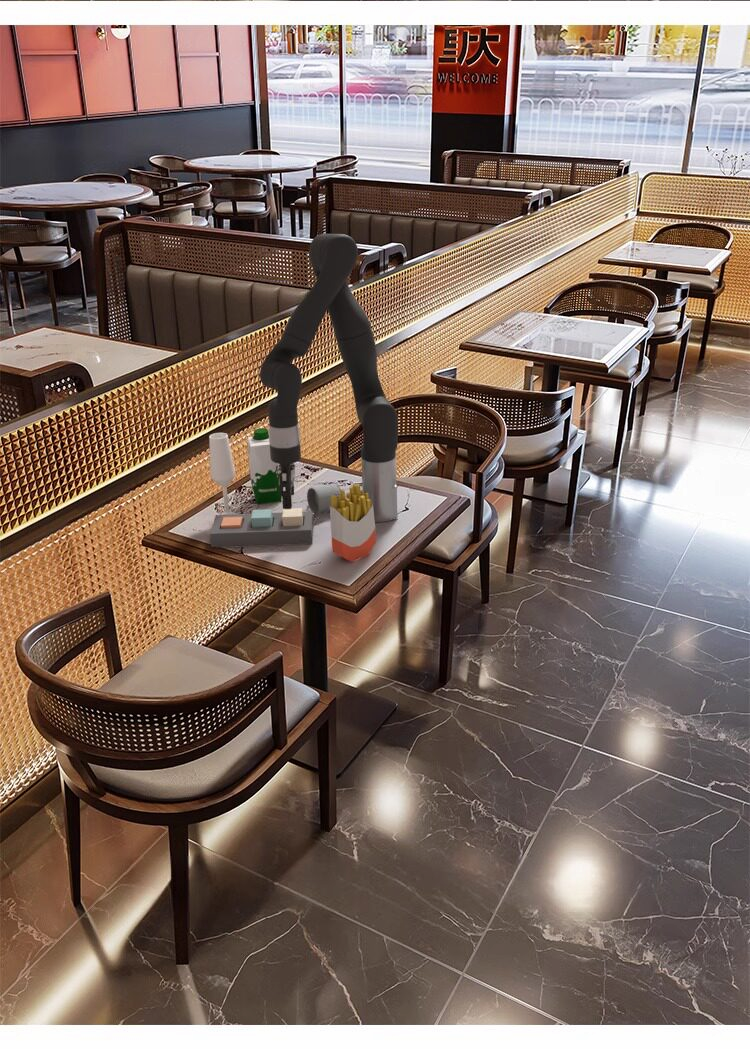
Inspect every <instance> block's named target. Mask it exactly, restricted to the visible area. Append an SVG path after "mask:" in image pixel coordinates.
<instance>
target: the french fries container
mask: <svg viewBox="0 0 750 1049" xmlns="http://www.w3.org/2000/svg"><path fill="white" fill-rule="evenodd" d="M348 489H349V492H347V493H346V492H345V489H341V490H340V491H341V496H340V495H339V496H337V497H336V496H335V495H332V496H330V498H331V506H330V511H329V512H330V513H329V514H330V532H331V533H330V534H331V536H330V537H331V550H332V553H333V554H336V555H337V556H339V557H341V558H343V559H345V560H347V561H349V562H350V563H354V562H355V561H358V560H360V559H362V558H365V557H366V556H368V555H369V554H370V553H371V551H372V549H373V547H374V546H375V545H376V541H377V538H376V536H377V535H376V522H375V520H374V510H373V503H372V501H371V499H370V497H369V493H364V491H363V490H361V484H359V483H354V484H352V486H350V487H349V488H348Z"/></svg>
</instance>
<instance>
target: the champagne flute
mask: <svg viewBox="0 0 750 1049" xmlns="http://www.w3.org/2000/svg"><path fill="white" fill-rule="evenodd" d="M209 472H210V473H209V475H210V478H211V480H212V481H213V482H214V483H216V484H217V485H219V486H220V487H221V489H222V496H223V497H222V498H223V504H224V505H223V506H224V511H223V512H222V513H220V514H219V515H229V514H238V513H236V512H232V511H231V510H230V504H229V496H228V488H227V486H228V485H230V484H231V483H232V482H233V480H234V479H235V476H236V470H235V465H234V460H233V455H232V451H231V446H230V439H229V436H228V433H225V432H214V433H212V434H210V435H209Z"/></svg>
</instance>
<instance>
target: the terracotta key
mask: <svg viewBox="0 0 750 1049" xmlns="http://www.w3.org/2000/svg"><path fill="white" fill-rule="evenodd" d="M242 525H243V518H242V517H223V520H222V523H221V529H228V528H242Z"/></svg>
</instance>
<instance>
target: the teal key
mask: <svg viewBox="0 0 750 1049" xmlns="http://www.w3.org/2000/svg"><path fill="white" fill-rule="evenodd" d="M273 513H274V512H273V509H272V508H271V509H266V508H265V509H253V510H252V513H251V514H252V517H251V522H252V528H254V527H272V525H273Z"/></svg>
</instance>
